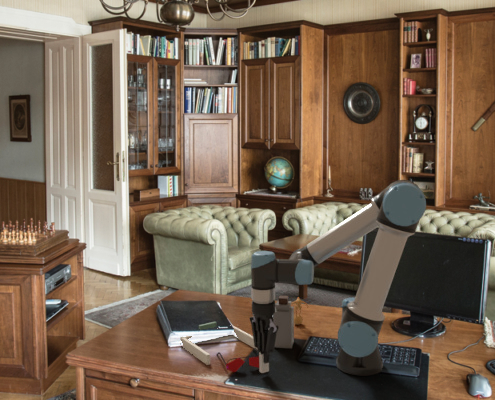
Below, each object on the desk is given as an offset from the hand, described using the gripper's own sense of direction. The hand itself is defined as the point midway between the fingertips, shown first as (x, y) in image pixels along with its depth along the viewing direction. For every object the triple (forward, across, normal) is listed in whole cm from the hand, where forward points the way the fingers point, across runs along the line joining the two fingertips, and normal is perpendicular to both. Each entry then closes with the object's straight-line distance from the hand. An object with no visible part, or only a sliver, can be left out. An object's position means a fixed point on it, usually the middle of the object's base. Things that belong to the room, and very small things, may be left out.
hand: (264, 371), depth 179 cm
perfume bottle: (+2, +18, -21) cm, 28 cm away
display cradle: (+1, +28, 0) cm, 28 cm away
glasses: (+2, +14, 0) cm, 14 cm away
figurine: (+2, +31, -38) cm, 49 cm away
